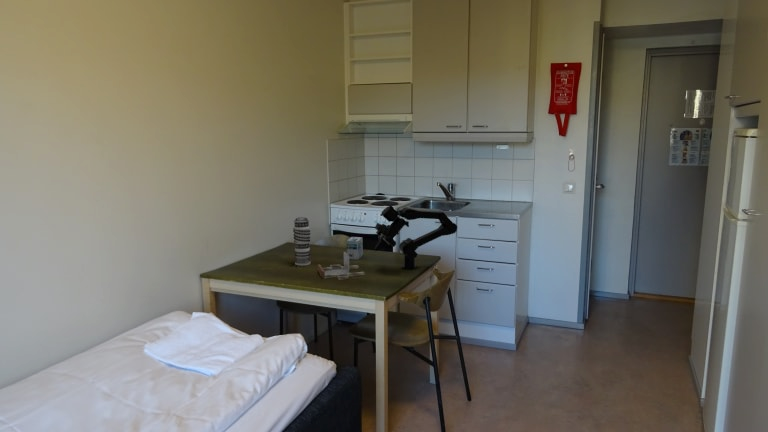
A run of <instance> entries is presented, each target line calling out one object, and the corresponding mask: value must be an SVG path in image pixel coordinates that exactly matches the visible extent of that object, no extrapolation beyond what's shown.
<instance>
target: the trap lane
mask: <svg viewBox="0 0 768 432" xmlns="http://www.w3.org/2000/svg"><path fill="white" fill-rule="evenodd" d="M338 269H344V265H343V266H342V265H341V264H340V263H339V264H330V265H329V267H322V265H321V264H319V263H318V264H317V272H318V273H319V275H320V277H321V278H322V279H333V278H336V279H337V280H338V281H341V280H342V281H343V280H344V281H345V280H350V277H356V276H357V277H358V276H359V277H360V276H365V271H359V272H357V271H356V272H350V273H346V276H338V275H337V274H331V275H325V272H324V271H326V270H338ZM354 269H355V270H356V269H359V265H358V264H357V265H356V264H355V265H349V270H354Z"/></svg>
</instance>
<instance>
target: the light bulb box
mask: <svg viewBox="0 0 768 432" xmlns="http://www.w3.org/2000/svg"><path fill="white" fill-rule="evenodd" d="M363 243H364V242H363V237H362V236H361V237H359V236H351V237H350V238H348V239H347V240H346V253H347V254H348V255H349V260H360V259H361V258H362V257H363V256H364V255H363V254H364V253H363V252H364V251H363V250H364V249H363V247H364V246H363Z"/></svg>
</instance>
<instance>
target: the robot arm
mask: <svg viewBox="0 0 768 432" xmlns="http://www.w3.org/2000/svg"><path fill="white" fill-rule="evenodd" d="M380 214H381V216H382V217H383V218H385V220H386V221H387V222H389V223H390V222H391V224H387V225H386V224H384V223H382V224H381V223H378V222H376V224H375V227H374V229H375V230H376V232H375V234H377V236H378V237H377V238H378V241H377V243H376V245H375V247H374V249H373V251H375V252H377V251H380V250H382V249H384V248H386V247H389V246H390V245H391V247H393V248H395V246H396V245H397V241H396V240H395V239H394V238H395V237H396V236H399V235H400V231H401V230H402V229H403V228H404V227H407V228H409V227H410V225H409V224H410V221H413V220H418V219H426V220H427V219H429V220H430V219H431V220H438V221H439V222H440V225H439V226H438V227H437V228H435V229H433V230H432V231H429V232H427V233H425V234H423V235H421V236H418V237H417V238H414V239H412V238H411V237H407V238H406V239H404V240H402V241H401V242H400V243H399V246H398V249H399V252H401V253H402V256H403V255H404V256H403V265H402V266H401V269H405V270H406V269H407V270H414V269H416V268H418V265H416V258H417V257H418V253H417V251H416V250H417V249H418V248H419V247H421V246H423V245H426V244H428V243H430V242H432V241H435V240H436V239H438V238H441V237H443V236H450V235H453V234H456V233H457V231H458V225H457V224H456V223H454V222H453V221H452V220H451V219H450V218H449V217H448V216H447V215H446V213H445V212H443V211H440V210H439V211H436V210H435V211H433V210H432V211H431V210H418V209H414V208H412V207H406V206H405V207H403V208H402V209H400V210H396V209H395V208H394V207H393V206H392V205H390V204H389V205H388V206H387V207H385V208H384V209H383V210H382V211H381V213H380ZM405 219H406V220H405Z"/></svg>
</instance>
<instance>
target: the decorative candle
mask: <svg viewBox="0 0 768 432" xmlns="http://www.w3.org/2000/svg"><path fill="white" fill-rule="evenodd" d="M293 221H294V227H293V229H292V230H293V231H292V232H293V239H294V240H293V243H294V245H295V247H294V264H295V266H296V265H297V266H308V265H311V257H312V256H311V248H310V243H311V229H310V225H309V223H310V219H308V217H305V216H304V217H303V216H299V217H296V218H295V219H294V220H293Z"/></svg>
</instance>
